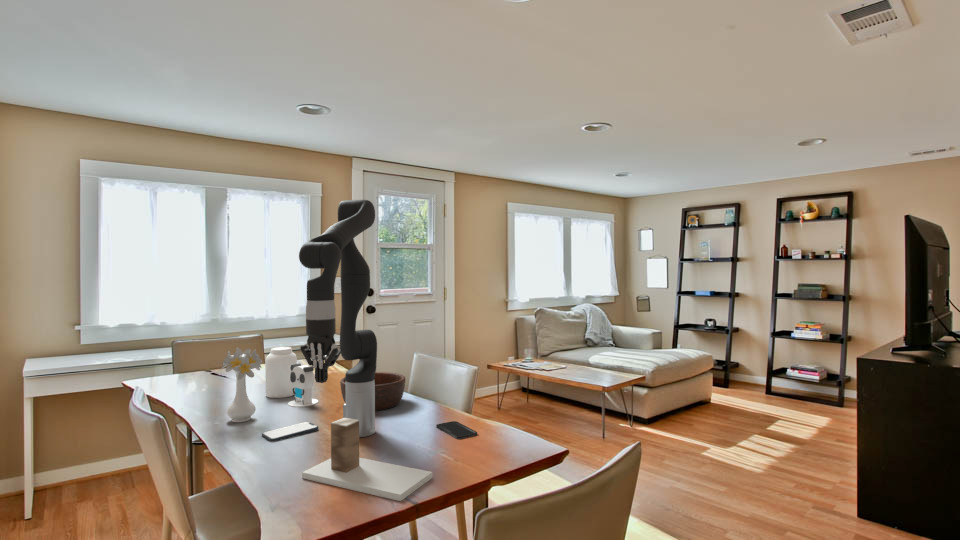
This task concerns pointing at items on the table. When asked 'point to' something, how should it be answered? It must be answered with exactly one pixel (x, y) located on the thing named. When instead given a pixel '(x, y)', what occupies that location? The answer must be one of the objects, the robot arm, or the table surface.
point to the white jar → (279, 372)
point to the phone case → (289, 431)
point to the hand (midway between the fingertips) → (321, 382)
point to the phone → (456, 430)
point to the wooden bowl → (384, 389)
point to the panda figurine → (302, 385)
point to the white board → (372, 478)
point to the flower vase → (241, 383)
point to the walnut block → (344, 444)
